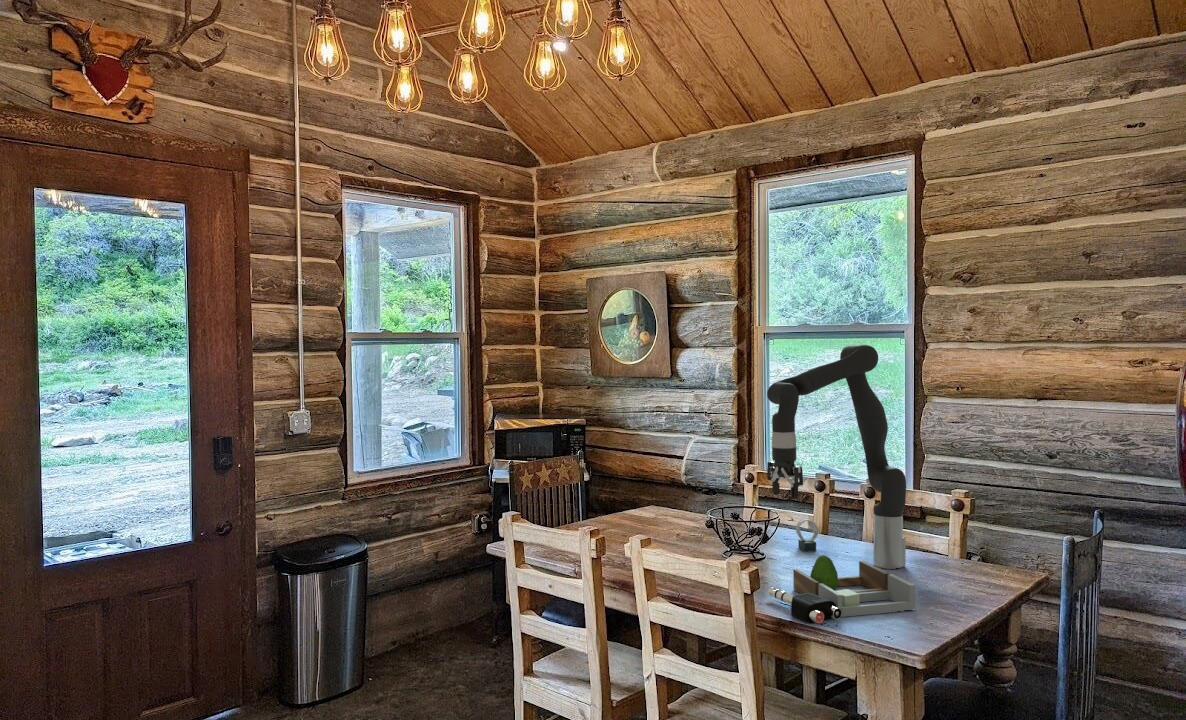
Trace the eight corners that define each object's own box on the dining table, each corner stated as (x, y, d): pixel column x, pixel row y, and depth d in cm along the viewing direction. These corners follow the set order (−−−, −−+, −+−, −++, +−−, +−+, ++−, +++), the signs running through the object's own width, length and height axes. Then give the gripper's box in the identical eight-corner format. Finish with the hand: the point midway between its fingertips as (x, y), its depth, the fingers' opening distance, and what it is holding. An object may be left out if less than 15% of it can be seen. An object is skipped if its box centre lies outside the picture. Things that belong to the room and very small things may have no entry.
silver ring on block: (821, 550, 291) (821, 520, 291) (800, 552, 290) (799, 521, 289) (814, 547, 296) (814, 517, 296) (793, 548, 295) (793, 518, 295)
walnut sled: (863, 583, 251) (863, 560, 251) (889, 597, 238) (889, 573, 238) (793, 589, 246) (793, 566, 246) (815, 603, 233) (815, 579, 233)
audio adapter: (813, 608, 214) (753, 583, 236) (813, 628, 214) (753, 601, 236) (844, 602, 219) (783, 578, 241) (844, 621, 219) (783, 596, 241)
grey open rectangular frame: (892, 597, 237) (892, 574, 237) (915, 610, 226) (915, 585, 226) (818, 604, 232) (818, 580, 232) (838, 617, 221) (837, 591, 221)
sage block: (847, 606, 231) (847, 588, 231) (859, 611, 226) (859, 593, 226) (833, 608, 229) (833, 591, 229) (845, 614, 224) (845, 596, 224)
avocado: (821, 600, 236) (821, 559, 236) (805, 593, 243) (804, 553, 243) (844, 597, 239) (843, 556, 239) (826, 589, 246) (826, 550, 246)
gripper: (808, 447, 252) (809, 498, 253) (778, 442, 265) (779, 491, 265) (790, 449, 249) (791, 501, 249) (760, 444, 261) (761, 494, 262)
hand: (785, 496), depth 257 cm, fingers open, 8 cm apart
